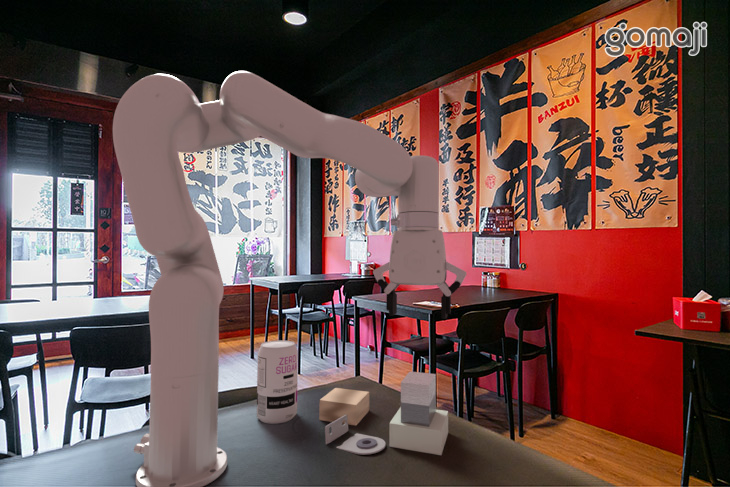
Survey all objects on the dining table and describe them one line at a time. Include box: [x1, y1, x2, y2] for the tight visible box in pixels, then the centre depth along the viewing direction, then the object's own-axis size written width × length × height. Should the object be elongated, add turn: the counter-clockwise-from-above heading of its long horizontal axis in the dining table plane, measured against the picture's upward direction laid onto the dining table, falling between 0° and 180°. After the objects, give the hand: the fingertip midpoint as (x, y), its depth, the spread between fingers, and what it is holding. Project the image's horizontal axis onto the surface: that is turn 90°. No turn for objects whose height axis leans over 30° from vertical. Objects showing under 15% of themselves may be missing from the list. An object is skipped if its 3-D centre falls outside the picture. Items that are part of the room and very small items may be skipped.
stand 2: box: [388, 406, 449, 456], centre depth 70 cm, size 9×9×4 cm
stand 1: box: [318, 387, 370, 426], centre depth 81 cm, size 8×8×4 cm
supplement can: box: [256, 339, 299, 425], centre depth 80 cm, size 8×8×15 cm
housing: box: [400, 371, 437, 427], centre depth 70 cm, size 7×5×7 cm
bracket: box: [324, 415, 386, 455], centre depth 68 cm, size 7×10×4 cm, turn 57°
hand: (418, 316), depth 71 cm, fingers open, 9 cm apart
